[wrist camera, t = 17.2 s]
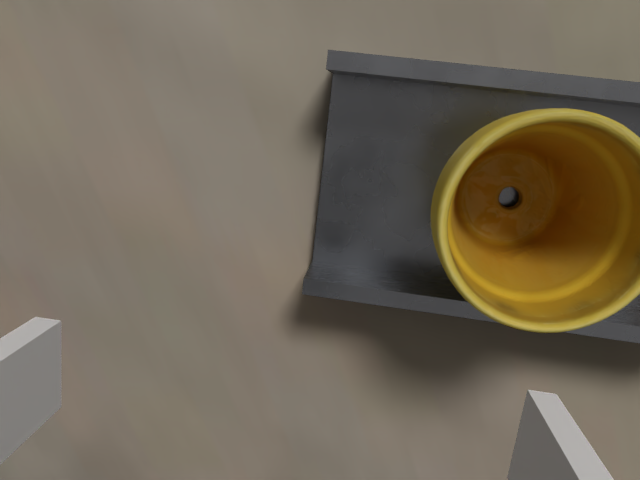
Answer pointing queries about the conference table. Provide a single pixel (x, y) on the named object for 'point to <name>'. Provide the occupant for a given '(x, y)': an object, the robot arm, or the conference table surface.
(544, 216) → the plant pot
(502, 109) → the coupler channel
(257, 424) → the conference table surface
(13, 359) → the robot arm
